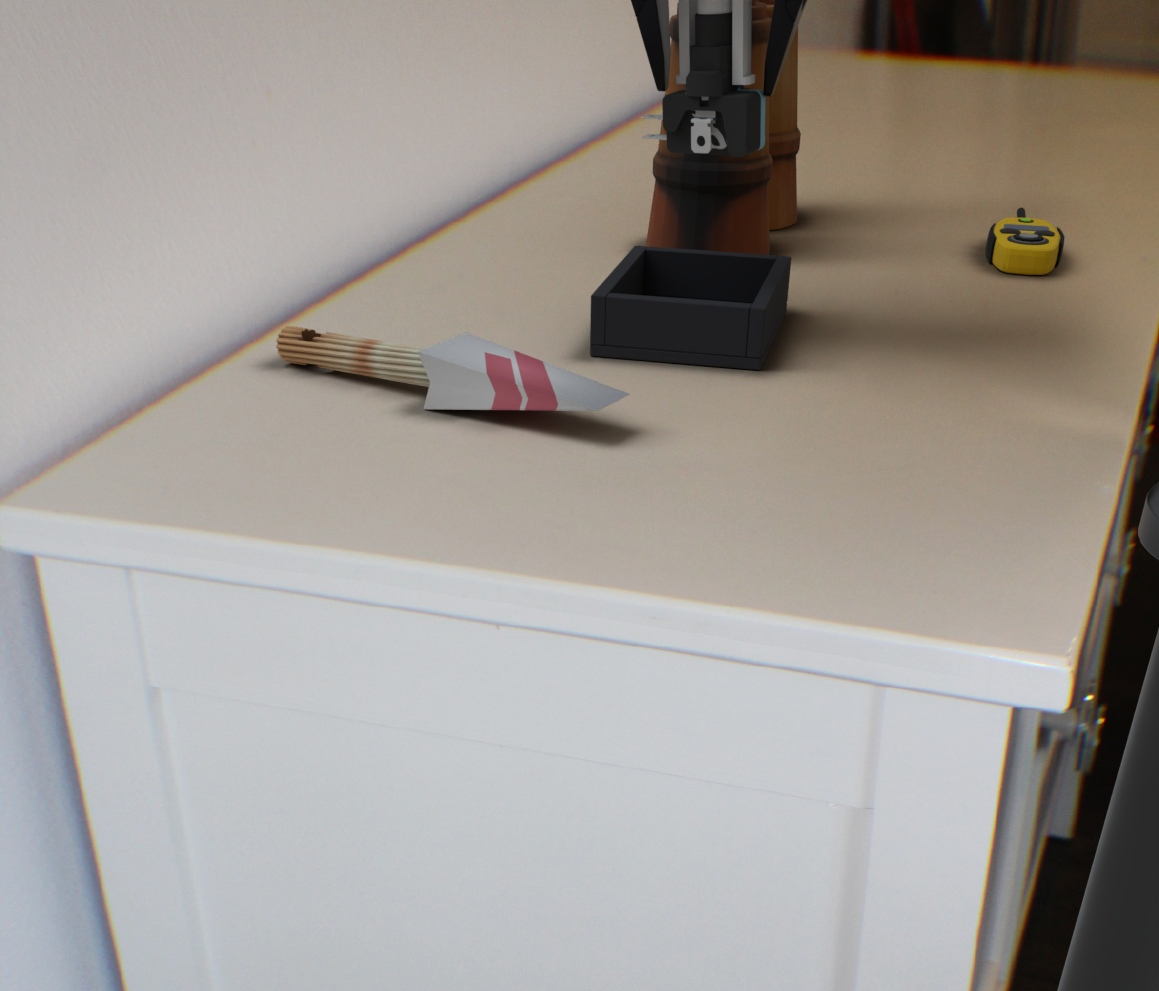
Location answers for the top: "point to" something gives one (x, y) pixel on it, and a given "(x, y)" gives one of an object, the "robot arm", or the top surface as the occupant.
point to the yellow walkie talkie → (1024, 245)
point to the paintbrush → (453, 371)
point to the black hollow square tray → (690, 307)
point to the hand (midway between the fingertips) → (715, 93)
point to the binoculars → (731, 167)
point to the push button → (714, 83)
